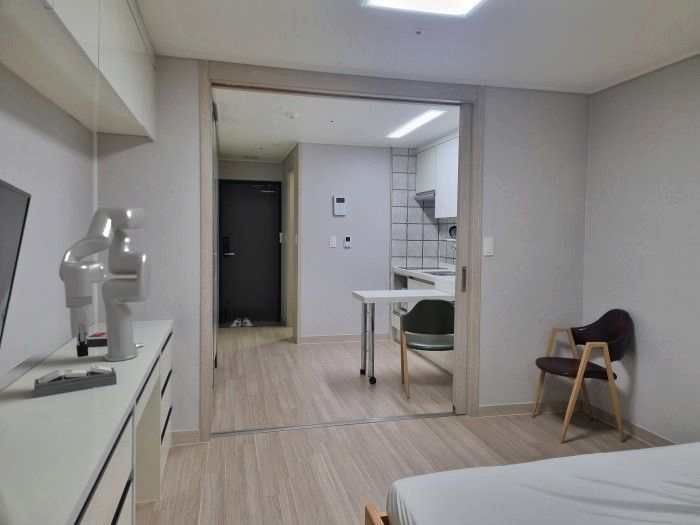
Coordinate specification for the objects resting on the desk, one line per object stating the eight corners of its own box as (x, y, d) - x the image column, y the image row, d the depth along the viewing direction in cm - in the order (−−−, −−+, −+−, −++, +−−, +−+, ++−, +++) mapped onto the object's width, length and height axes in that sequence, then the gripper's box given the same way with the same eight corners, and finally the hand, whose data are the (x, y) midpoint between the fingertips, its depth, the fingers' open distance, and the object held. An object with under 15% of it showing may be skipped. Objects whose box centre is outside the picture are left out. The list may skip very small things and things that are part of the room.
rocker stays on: (59, 372, 161) (57, 369, 161) (60, 376, 157) (58, 372, 157) (39, 381, 158) (37, 378, 158) (39, 385, 154) (37, 382, 154)
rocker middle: (85, 373, 165) (85, 369, 165) (86, 376, 161) (86, 372, 161) (64, 373, 162) (65, 369, 162) (65, 377, 158) (65, 373, 158)
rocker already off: (109, 371, 169) (110, 367, 169) (110, 374, 165) (112, 370, 165) (90, 368, 166) (91, 364, 166) (91, 371, 162) (92, 367, 162)
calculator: (120, 331, 229) (109, 337, 214) (121, 340, 229) (109, 346, 214) (95, 332, 227) (82, 338, 213) (96, 341, 228) (83, 348, 213)
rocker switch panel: (113, 376, 172) (113, 366, 171) (116, 384, 164) (116, 373, 164) (35, 389, 160) (34, 378, 159) (35, 397, 152) (34, 386, 152)
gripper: (64, 299, 166) (68, 352, 168) (66, 306, 153) (71, 363, 155) (89, 297, 170) (93, 348, 172) (93, 303, 157) (97, 359, 159)
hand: (82, 355), depth 163 cm, fingers closed
